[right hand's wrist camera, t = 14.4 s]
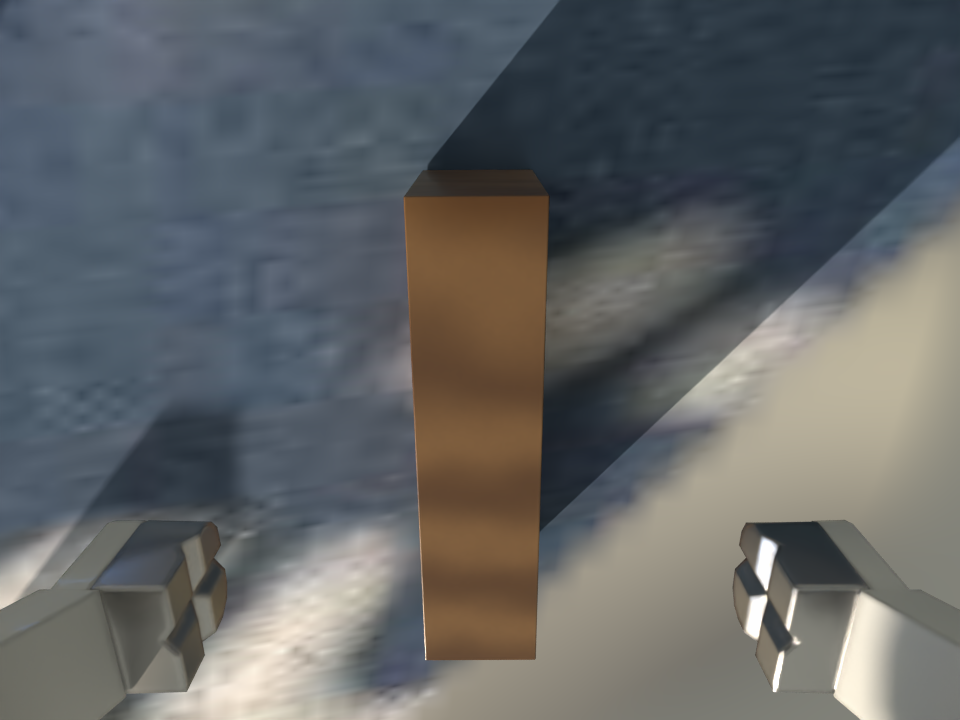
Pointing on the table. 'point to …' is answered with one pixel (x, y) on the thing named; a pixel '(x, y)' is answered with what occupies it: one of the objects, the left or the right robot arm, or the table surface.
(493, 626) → the bar
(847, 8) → the table surface
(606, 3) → the table surface
